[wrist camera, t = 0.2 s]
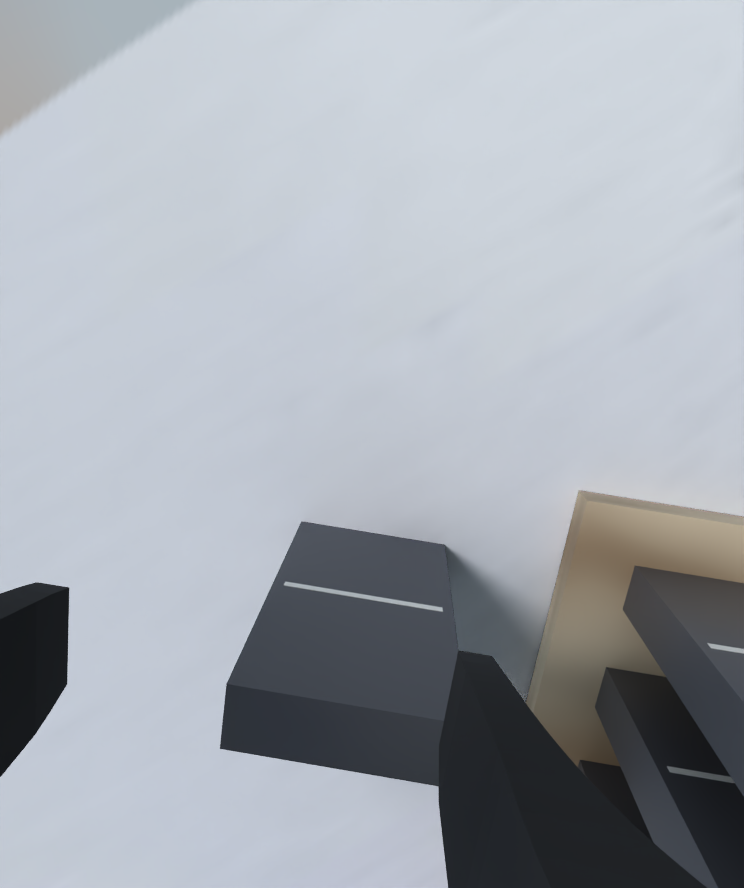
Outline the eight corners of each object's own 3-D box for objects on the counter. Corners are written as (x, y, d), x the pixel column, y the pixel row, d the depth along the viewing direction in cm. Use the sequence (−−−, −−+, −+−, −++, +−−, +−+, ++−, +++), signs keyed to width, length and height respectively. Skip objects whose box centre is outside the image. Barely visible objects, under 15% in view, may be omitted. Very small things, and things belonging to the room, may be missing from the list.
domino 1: (436, 587, 22) (453, 789, 13) (296, 563, 22) (220, 749, 13) (444, 544, 21) (468, 724, 13) (301, 520, 21) (226, 683, 13)
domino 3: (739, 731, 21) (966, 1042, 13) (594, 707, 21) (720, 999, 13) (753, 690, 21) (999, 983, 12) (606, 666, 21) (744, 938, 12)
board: (676, 998, 26) (686, 1026, 25) (461, 960, 26) (463, 986, 25) (852, 534, 20) (873, 546, 19) (578, 490, 20) (587, 500, 20)
